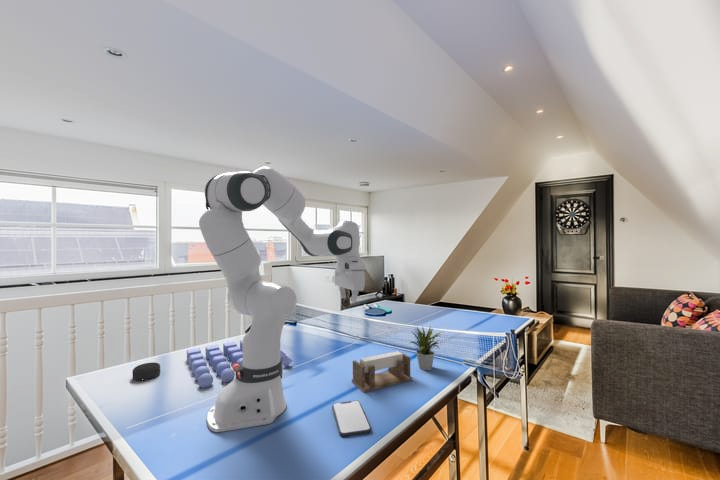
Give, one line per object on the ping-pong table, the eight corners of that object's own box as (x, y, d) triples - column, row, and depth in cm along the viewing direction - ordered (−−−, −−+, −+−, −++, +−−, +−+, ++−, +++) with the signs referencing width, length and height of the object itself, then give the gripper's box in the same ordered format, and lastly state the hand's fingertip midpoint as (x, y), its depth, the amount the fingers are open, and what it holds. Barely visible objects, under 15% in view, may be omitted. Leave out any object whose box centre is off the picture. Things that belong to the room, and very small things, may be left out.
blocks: (267, 345, 161) (266, 335, 161) (294, 368, 133) (294, 356, 133) (186, 361, 142) (186, 349, 142) (199, 392, 113) (199, 377, 113)
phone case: (372, 435, 87) (359, 404, 103) (372, 429, 87) (359, 399, 103) (339, 440, 85) (331, 408, 101) (339, 434, 85) (331, 403, 101)
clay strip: (364, 373, 114) (364, 361, 114) (360, 370, 117) (360, 358, 117) (402, 364, 121) (402, 353, 121) (398, 361, 124) (397, 351, 124)
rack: (363, 392, 110) (363, 368, 110) (351, 382, 118) (351, 359, 118) (412, 379, 120) (411, 358, 120) (398, 371, 128) (397, 350, 128)
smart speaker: (147, 382, 120) (146, 371, 120) (126, 380, 122) (126, 369, 122) (165, 372, 129) (165, 362, 129) (146, 371, 131) (146, 361, 131)
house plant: (442, 378, 121) (442, 334, 120) (405, 373, 125) (404, 330, 125) (445, 364, 134) (445, 324, 134) (411, 360, 139) (411, 321, 138)
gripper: (330, 262, 134) (330, 296, 134) (352, 265, 115) (352, 305, 115) (344, 262, 137) (344, 295, 137) (368, 265, 118) (368, 303, 118)
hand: (348, 299), depth 126 cm, fingers open, 8 cm apart
